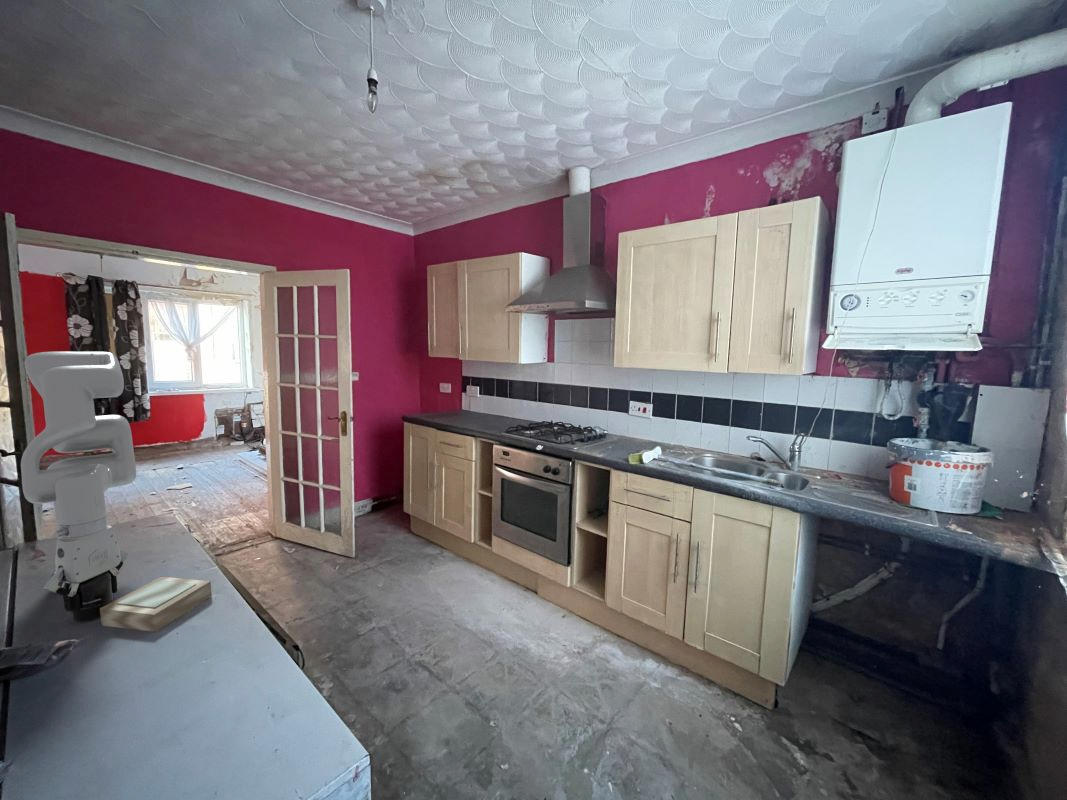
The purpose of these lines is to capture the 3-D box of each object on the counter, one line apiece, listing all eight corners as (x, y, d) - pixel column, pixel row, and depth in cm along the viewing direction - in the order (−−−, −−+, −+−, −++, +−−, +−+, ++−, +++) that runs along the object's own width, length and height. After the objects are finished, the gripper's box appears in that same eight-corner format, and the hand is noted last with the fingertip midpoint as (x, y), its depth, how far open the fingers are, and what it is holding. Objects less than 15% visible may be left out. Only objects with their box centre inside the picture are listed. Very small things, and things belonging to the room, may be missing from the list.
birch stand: (101, 625, 98) (99, 607, 98) (163, 591, 112) (161, 575, 112) (155, 631, 96) (153, 613, 96) (211, 596, 110) (210, 580, 110)
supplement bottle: (88, 625, 98) (82, 573, 97) (64, 620, 100) (58, 570, 98) (122, 607, 105) (117, 559, 104) (99, 603, 107) (94, 556, 105)
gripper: (50, 545, 91) (60, 626, 93) (138, 513, 108) (144, 583, 110) (20, 542, 92) (31, 622, 94) (112, 511, 109) (119, 580, 111)
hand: (92, 600), depth 102 cm, fingers closed on supplement bottle, 6 cm apart
